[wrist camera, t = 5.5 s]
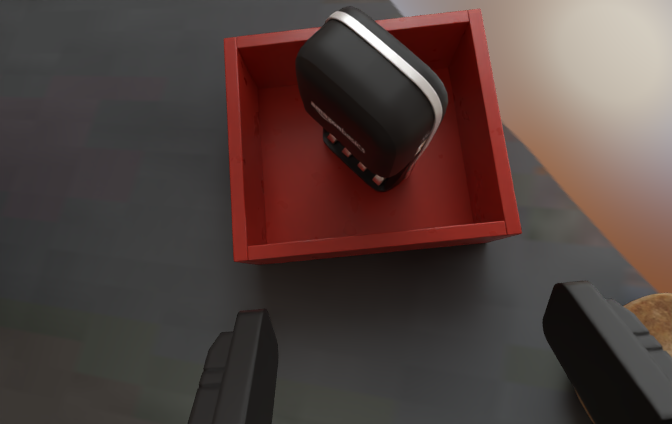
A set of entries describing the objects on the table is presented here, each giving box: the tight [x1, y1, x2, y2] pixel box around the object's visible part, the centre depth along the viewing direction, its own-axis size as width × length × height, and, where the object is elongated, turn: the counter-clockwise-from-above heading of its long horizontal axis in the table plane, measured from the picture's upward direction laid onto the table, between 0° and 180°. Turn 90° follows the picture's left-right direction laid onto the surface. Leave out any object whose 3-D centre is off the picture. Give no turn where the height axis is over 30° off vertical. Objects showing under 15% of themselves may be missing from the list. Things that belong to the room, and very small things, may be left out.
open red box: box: [224, 9, 522, 265], centre depth 24 cm, size 16×14×5 cm
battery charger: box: [295, 6, 448, 192], centre depth 20 cm, size 7×4×11 cm, turn 45°
